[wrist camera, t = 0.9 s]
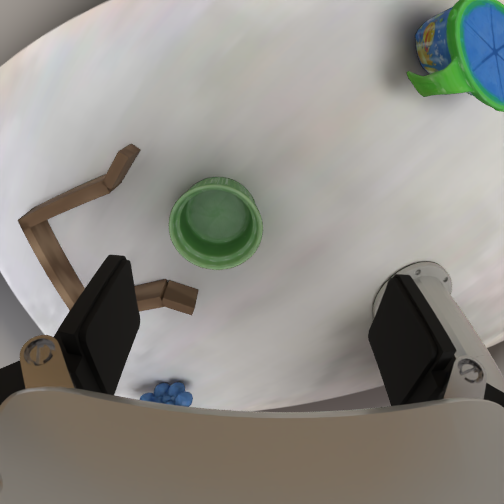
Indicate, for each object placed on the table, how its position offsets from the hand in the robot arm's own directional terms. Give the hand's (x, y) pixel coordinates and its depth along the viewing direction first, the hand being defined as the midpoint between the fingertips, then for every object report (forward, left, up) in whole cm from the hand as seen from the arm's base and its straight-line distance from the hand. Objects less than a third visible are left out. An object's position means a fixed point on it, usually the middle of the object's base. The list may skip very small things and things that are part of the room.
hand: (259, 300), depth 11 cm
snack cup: (+8, -23, -22) cm, 33 cm away
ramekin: (-5, +5, -22) cm, 23 cm away
